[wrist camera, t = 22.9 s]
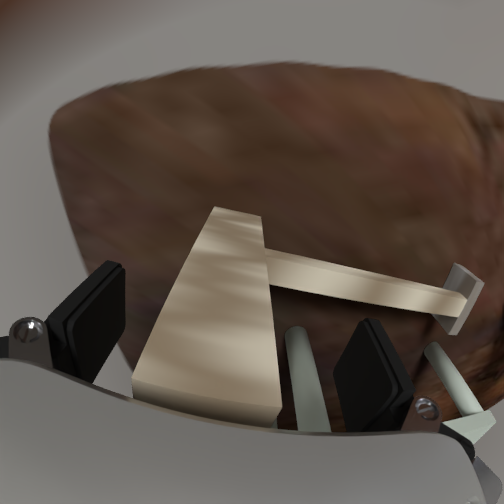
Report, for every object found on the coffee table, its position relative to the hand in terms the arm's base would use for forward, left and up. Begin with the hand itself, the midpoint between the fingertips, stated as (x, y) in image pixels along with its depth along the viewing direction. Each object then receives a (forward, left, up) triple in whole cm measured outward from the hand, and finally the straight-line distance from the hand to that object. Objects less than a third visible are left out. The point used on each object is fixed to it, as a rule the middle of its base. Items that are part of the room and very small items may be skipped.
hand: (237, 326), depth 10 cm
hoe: (-8, 0, -9) cm, 12 cm away
